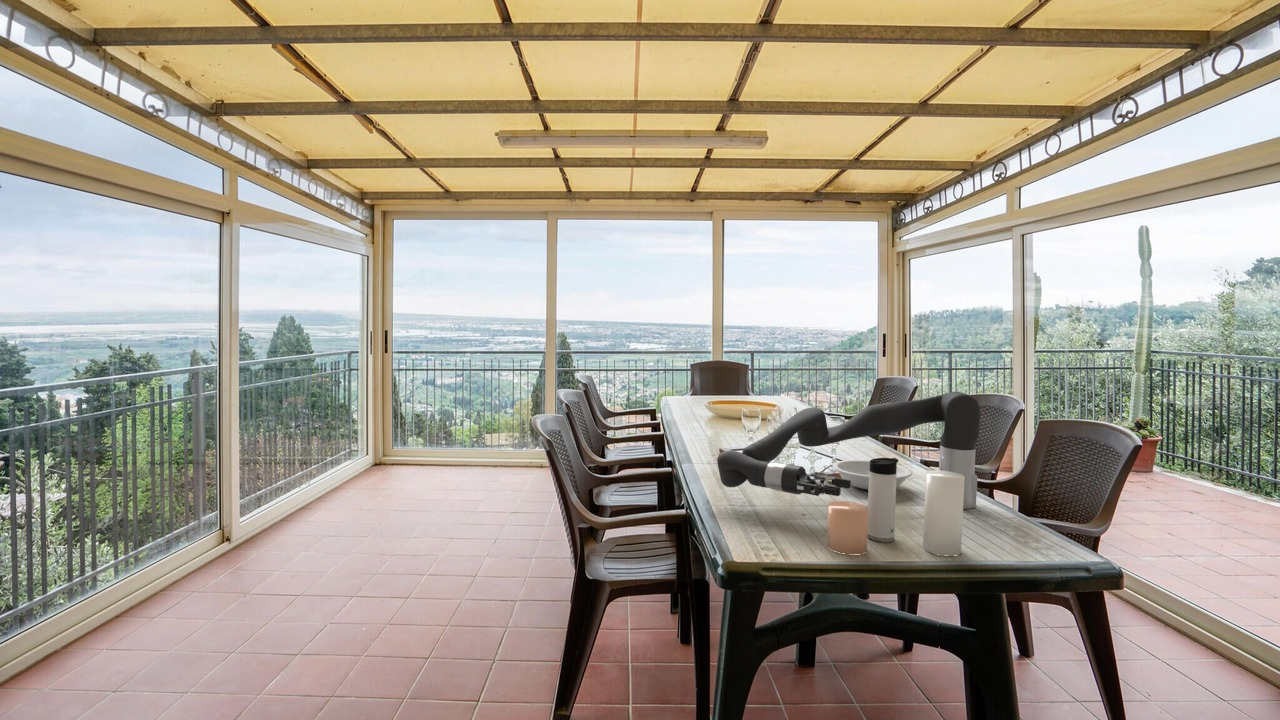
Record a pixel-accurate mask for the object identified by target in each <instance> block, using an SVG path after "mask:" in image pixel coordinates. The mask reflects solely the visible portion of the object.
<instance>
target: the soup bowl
mask: <svg viewBox="0 0 1280 720" xmlns="http://www.w3.org/2000/svg"><path fill="white" fill-rule="evenodd" d="M870 460H871V459H869V460H868V459H845V460H840V461H836V462H834V463H833V464H832V468H833V469H834V470H835V471H837V473H838V474H839V475H840V477H841V479H846V480H850V481H851V486H853V487H856V488H859V489H863V490H867V491H869V469H870ZM896 471H897V472H896V473H897V475H896V476H897V479H896V488H897V487H899V486H901V485H902V484H903V483H904V482H905V480H906V479H907V478H909V477H912V475H913V471H912V470H911V469H909V468H908V467H905V466H903V465H900V464H897V469H896Z"/></svg>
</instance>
